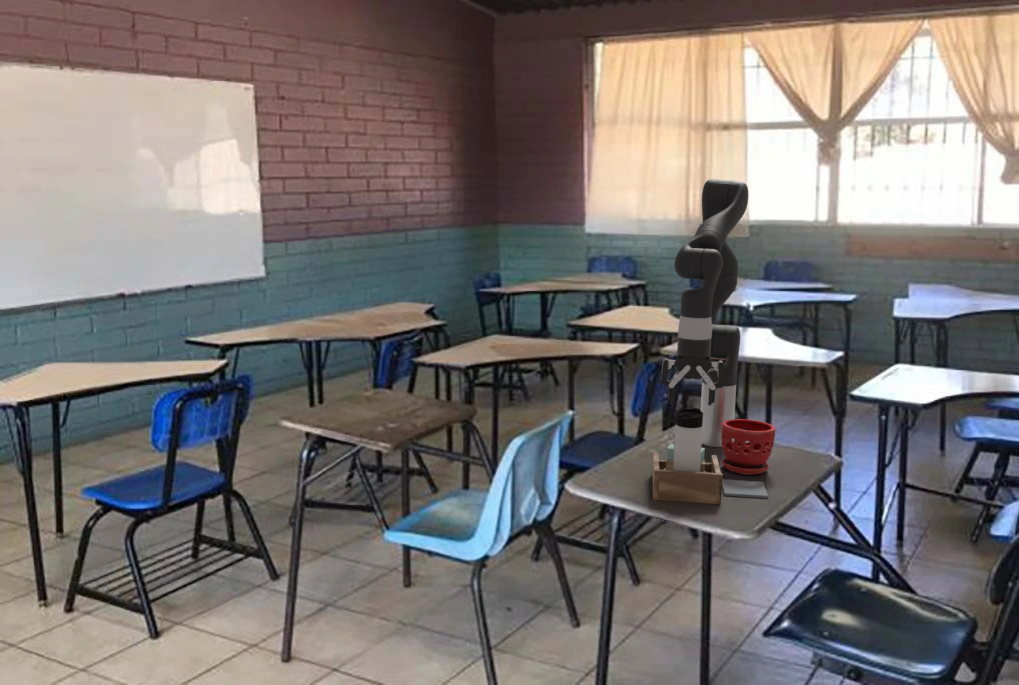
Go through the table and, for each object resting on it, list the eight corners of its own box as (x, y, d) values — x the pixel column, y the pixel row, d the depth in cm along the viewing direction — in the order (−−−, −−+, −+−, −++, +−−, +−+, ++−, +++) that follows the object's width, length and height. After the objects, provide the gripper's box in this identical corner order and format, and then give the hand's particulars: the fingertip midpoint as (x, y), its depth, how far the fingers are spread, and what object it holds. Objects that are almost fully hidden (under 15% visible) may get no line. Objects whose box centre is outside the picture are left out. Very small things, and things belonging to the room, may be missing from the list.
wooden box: (652, 474, 240) (653, 447, 239) (715, 478, 238) (716, 451, 237) (653, 499, 223) (654, 470, 222) (720, 504, 221) (722, 474, 220)
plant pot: (773, 479, 239) (777, 433, 236) (719, 475, 241) (722, 429, 239) (770, 463, 251) (773, 419, 249) (719, 459, 254) (721, 415, 251)
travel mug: (704, 492, 229) (709, 410, 225) (689, 499, 224) (694, 415, 220) (681, 485, 233) (686, 405, 229) (666, 492, 228) (671, 410, 224)
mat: (721, 481, 236) (721, 479, 236) (762, 484, 235) (763, 481, 235) (724, 495, 227) (724, 493, 226) (768, 498, 225) (768, 495, 225)
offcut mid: (665, 468, 237) (666, 456, 237) (703, 470, 236) (704, 458, 235) (665, 473, 233) (666, 461, 233) (704, 475, 232) (704, 464, 231)
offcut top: (670, 455, 238) (670, 443, 237) (704, 460, 234) (704, 448, 234) (666, 459, 234) (666, 448, 234) (700, 464, 231) (701, 452, 230)
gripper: (724, 333, 224) (720, 401, 227) (662, 331, 226) (659, 398, 229) (727, 339, 216) (723, 409, 219) (663, 336, 218) (660, 406, 221)
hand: (690, 403), depth 224 cm, fingers open, 8 cm apart
